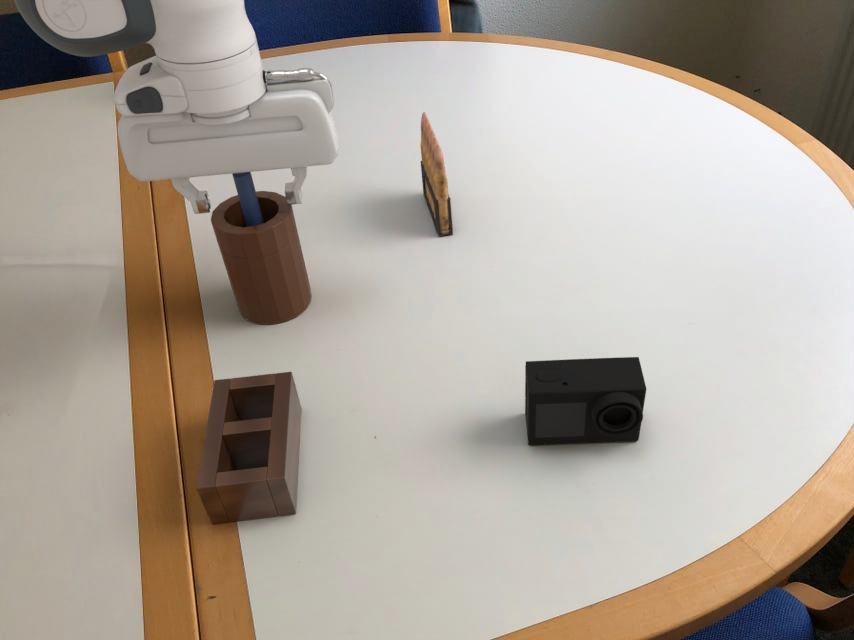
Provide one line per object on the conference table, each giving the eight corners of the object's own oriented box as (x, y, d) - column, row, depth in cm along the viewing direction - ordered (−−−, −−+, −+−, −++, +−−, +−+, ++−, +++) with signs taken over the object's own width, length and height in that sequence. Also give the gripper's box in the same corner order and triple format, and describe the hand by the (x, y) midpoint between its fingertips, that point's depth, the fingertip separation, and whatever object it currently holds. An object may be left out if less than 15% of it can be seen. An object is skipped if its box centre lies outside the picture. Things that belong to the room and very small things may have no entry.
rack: (212, 524, 68) (195, 488, 65) (227, 416, 78) (214, 379, 74) (296, 514, 69) (284, 478, 65) (301, 407, 78) (291, 371, 75)
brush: (259, 307, 89) (223, 181, 78) (261, 290, 91) (226, 165, 81) (288, 304, 89) (256, 178, 78) (289, 287, 92) (258, 162, 81)
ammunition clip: (423, 193, 107) (415, 109, 99) (436, 191, 107) (429, 107, 99) (438, 237, 99) (431, 149, 91) (453, 234, 99) (447, 147, 91)
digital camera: (527, 456, 73) (528, 403, 68) (524, 412, 77) (524, 360, 72) (641, 451, 73) (649, 398, 68) (631, 408, 77) (639, 355, 72)
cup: (235, 328, 87) (206, 237, 79) (242, 283, 93) (216, 194, 85) (310, 320, 88) (289, 229, 80) (312, 276, 94) (292, 187, 86)
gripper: (328, 53, 76) (349, 181, 85) (109, 71, 74) (155, 199, 84) (328, 80, 71) (350, 212, 81) (94, 100, 70) (144, 232, 79)
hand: (249, 206), depth 82 cm, fingers open, 8 cm apart
